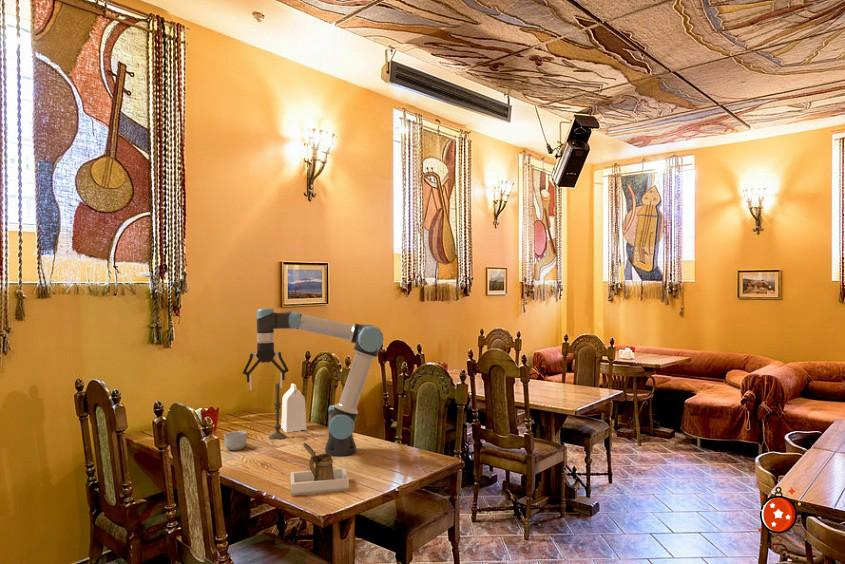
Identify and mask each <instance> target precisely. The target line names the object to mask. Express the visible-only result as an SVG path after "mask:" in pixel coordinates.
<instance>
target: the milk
mask: <svg viewBox="0 0 845 564" xmlns="http://www.w3.org/2000/svg"><path fill="white" fill-rule="evenodd" d="M281 399H282V402H281V420H280V421H281V424H280V425H281V428H282V429H283V430H282V429H281V428H280V429H281V430H282V431H284V432H285V433H286V432H290V433H294V432H293V431H298V432H302V431H301V430H306V431H307V416H306V415H307V414H306V411H307V410H306V398H305V396H304V395H303V394H302V392H301V390H300V389H298V387H297V384H295V383H290V388H289V389H288V390H287V391H286V392H285V393H284V394H283V396H282V398H281Z"/></svg>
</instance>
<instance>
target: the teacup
mask: <svg viewBox="0 0 845 564" xmlns="http://www.w3.org/2000/svg"><path fill="white" fill-rule="evenodd" d="M223 437H224V439H223V440H224V447H225V449H228V450H229V451H230V450H233V452H234V451H235V450H236V451H240V450H242V449H244V447H245V446H246V444H247V431H244V430H237V431H230V432H227V433H225V434H223Z"/></svg>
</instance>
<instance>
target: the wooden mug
mask: <svg viewBox="0 0 845 564" xmlns="http://www.w3.org/2000/svg"><path fill="white" fill-rule="evenodd" d="M302 445H303V448H304V449H305V450H306V451H307V453H308V454H309V455H310V456H311V457H309V458H310V459H309V461H308V463H309V464H308V467H309V469H310V470H309V471H311V472H312V473H313V475H314V479H313V481H321V480H332V479H335V478H334V473H333V469H334V467H333V463H334V461H333V456H331V455H330V454H326V453H321V454H318V455H317V454H316V452H315V451H314V449H313V448H312V446H310V445H308V443H306V442H303V444H302ZM314 465H315V466H314Z"/></svg>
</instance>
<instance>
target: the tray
mask: <svg viewBox="0 0 845 564" xmlns="http://www.w3.org/2000/svg"><path fill="white" fill-rule="evenodd" d="M333 473H334V478H335V479H332V480H321V481H313V479H314V475H313V473H312V472H311V470H306V471H305V470H303V471H292V472H290V477H289V478H290V492H291V493H290V495H291V497H294V496H306V495H307V496H308V495H316V494H318V495H319V494H326V493H328V494H329V493H336V492H337V493H338V492H344V491H345V492H348V491H350V479H349V476H348V473H347V471H346V469H345V467H337V468H336V467H335V468H333Z"/></svg>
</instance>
